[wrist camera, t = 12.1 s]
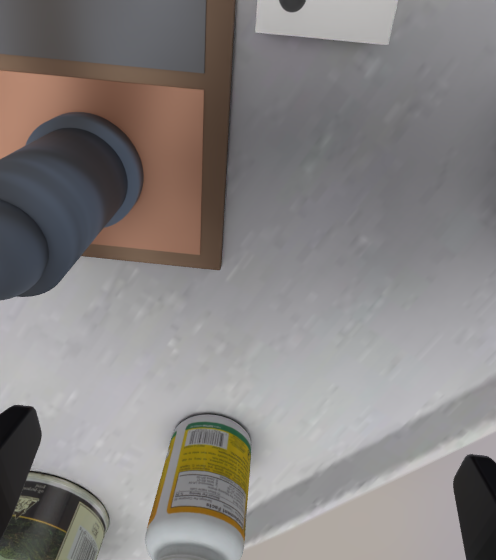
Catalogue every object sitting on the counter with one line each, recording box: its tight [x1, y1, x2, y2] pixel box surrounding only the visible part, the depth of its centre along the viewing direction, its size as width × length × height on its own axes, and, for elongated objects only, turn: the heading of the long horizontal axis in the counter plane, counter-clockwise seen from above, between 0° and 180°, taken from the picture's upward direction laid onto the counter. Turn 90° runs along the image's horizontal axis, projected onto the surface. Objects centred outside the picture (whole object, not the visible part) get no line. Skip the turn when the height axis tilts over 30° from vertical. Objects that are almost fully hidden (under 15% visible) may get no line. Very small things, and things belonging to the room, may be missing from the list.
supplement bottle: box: [145, 414, 251, 560], centre depth 25 cm, size 5×5×10 cm
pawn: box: [0, 112, 144, 300], centre depth 15 cm, size 5×5×9 cm
